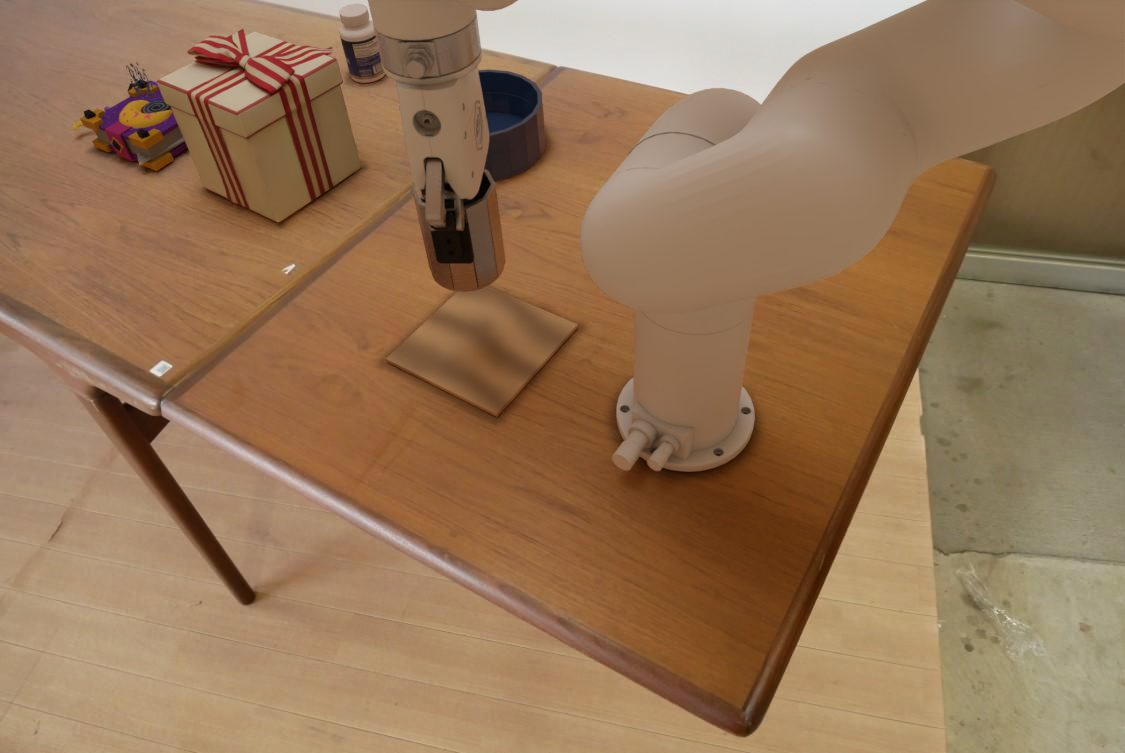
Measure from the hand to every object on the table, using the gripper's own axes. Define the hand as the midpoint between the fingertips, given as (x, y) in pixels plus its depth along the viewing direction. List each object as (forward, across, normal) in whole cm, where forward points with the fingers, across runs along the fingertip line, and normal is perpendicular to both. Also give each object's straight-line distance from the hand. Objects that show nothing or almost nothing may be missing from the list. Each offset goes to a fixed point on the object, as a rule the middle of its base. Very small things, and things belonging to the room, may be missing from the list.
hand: (462, 231), depth 75 cm
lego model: (+15, +39, +49) cm, 64 cm away
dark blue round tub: (+14, +36, +4) cm, 39 cm away
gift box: (+15, +31, +29) cm, 45 cm away
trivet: (+14, 0, 0) cm, 14 cm away
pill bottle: (+15, +56, +24) cm, 62 cm away
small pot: (+4, 0, 0) cm, 4 cm away
